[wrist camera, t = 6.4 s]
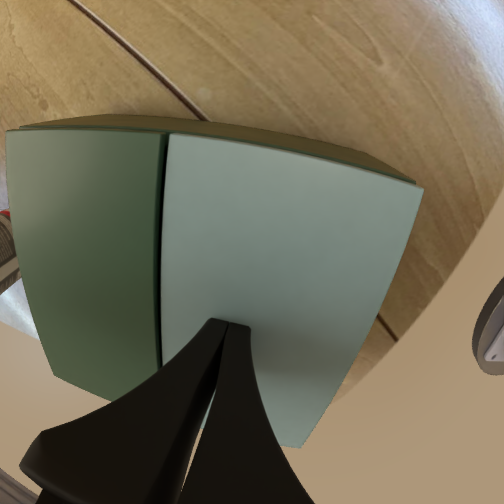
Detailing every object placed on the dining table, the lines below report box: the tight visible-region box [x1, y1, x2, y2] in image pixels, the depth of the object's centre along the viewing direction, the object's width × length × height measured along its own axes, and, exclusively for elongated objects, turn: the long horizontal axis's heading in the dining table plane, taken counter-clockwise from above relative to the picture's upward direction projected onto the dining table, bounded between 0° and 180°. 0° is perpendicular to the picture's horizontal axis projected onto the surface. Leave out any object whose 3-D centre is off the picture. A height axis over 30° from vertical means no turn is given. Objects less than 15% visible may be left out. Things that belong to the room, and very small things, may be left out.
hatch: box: [161, 133, 424, 448], centre depth 10 cm, size 7×13×1 cm, turn 171°
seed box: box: [5, 114, 416, 402], centre depth 13 cm, size 14×13×7 cm
